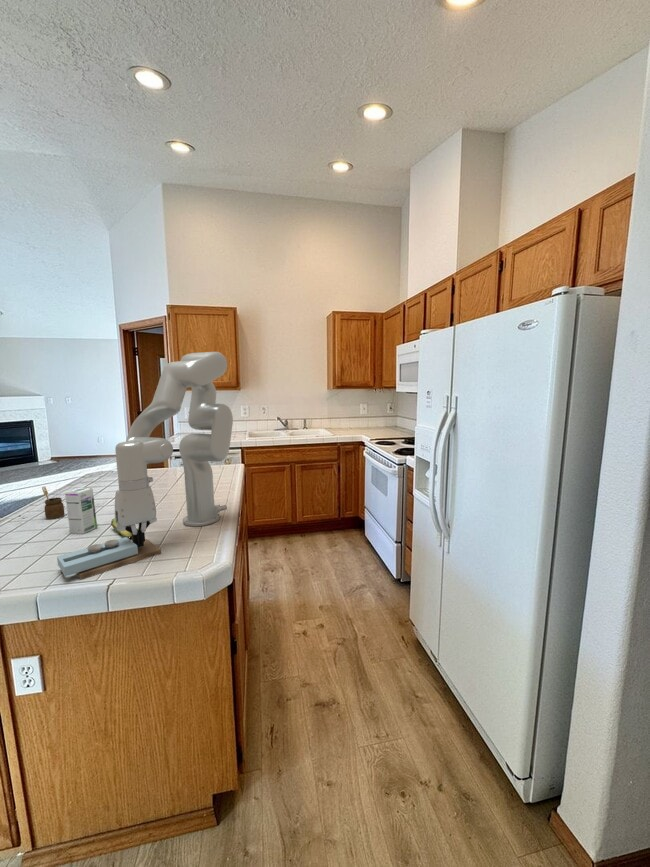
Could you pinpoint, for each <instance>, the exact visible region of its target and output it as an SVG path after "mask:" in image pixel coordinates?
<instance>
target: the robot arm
mask: <svg viewBox="0 0 650 867" xmlns="http://www.w3.org/2000/svg"><path fill="white" fill-rule="evenodd" d="M227 370H228V361H227V358H226V356H225V355H224V354H222V353H221V352H219V351H206V352H202V351H201V352H191V353H187V354H184V355H183V356H182V357H181V359H180V360H178V361H172V362H169V363H166V364H165V366H164V367H163V368H162V372H161V374H160V377H159V380H158V384H157V387H156V390H155V392H154V394H153V398H152V401H151V403H150V404H149V405H148V406H147V407H146V408H145V409H144V410H143V411H142V412H141V413H140V414H139V415H138V416H136V418H135V419H134V421H133V422H132V424H131V425H130V429H129V430H128V434H127V437H126V440H125V441H122V442H118V443H117V444H116V446H115V447H114V448H115V452H114V453H115V458H116V460H115V462H116V471H117V482H118V490H115V496H114V518H115V521H116V523H117V528H116V529H117V530H118V531H128V532H130V533H132V536H131V539H132V540H131V541H132V542H133V543H135V544H136V545H137V547H140V546H144V542H145V539H146V536H145V533H146V532H147V529H148V527H149V526H150V525H151V524H153V523H156V522H157V521H158V518H157V506H156V500H155V495H154V492H153V490H152V486H151V485H150V483H152V482H154V478H153V477H152V476H151V477H149V476H148V475H149V474H148V464H159V463H164V462H166V461H168V460H169V459H170V458H171V456H172V455H173V453H174V447H173V444H172V443H171V442H170V440H169V439H166V438H163V437H151V434H152V432H153V431H154V429H155V428H156V427H157V426H159V425H160V424H161V423H162V422H164V421H166V420H168V419H170V418H173V417H174V416H176V415H177V414H178V413H180V411H181V408H182V405H183V402H184V399H185V396H186V392H187V389H188V388H191V396H190V404H189V411H188V425H189V427H190V428H191V429H193V430H197V431H210V433H189V434H187V435H184V436H183V437H182V438H181V439H180V441H179V447H178V449H179V454H180V457H181V462H182V465H183V474H184V486H185V488H184V490H185V502H186V516H185V517H184V518H182V523H183V525H185V526H189V527H200V526H201V527H202V526H207V525H211V524H214V523H216V522H217V521H219V519H220V517H221V516H220V512H222V511H226V510H228V505H227V504H222V505H221V504H217V505H215V493H214V492H215V491H214V490H215V489H214V474H213V469H212V466H211V463H212V462H215V463H217V462H222V461H224V460H225V459H226V458H227V457H228V454H229V451H230V446H231V439H232V433H233V432H232V431H233V425H234V424H233V423H234V416H233V412H232V410H231V408H230V407H229V406H228V405H226V404H225V403H216V402H217V401H216V400H217V389H216V386H215V385H214V383H213V382H214V381H216V380H217V379H219V378H220V377H222V376H223V375H224V374H225V373H226V371H227ZM210 462H211V463H210ZM136 525H138V527H137V526H136ZM136 528H137V529H138V531H137V529H136ZM118 531H117V532H118Z"/></svg>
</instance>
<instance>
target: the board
mask: <svg viewBox="0 0 650 867" xmlns="http://www.w3.org/2000/svg"><path fill="white" fill-rule="evenodd" d="M103 543H104V544H105V547H109V549H112V548H115V546H116V545H118V544H119V541H118V540H117V539H109V540H107V541H105V542H103ZM103 543H96V544H92V545H90V546H88V547H87V548H88V552H92V554H95V553H99V550H101V549H103V546H102V544H103ZM137 549H138V554H135V555H132V556H129V557H126V558H123V559H119V560H116V561H113V562H110V563H107V564H104V565H100V566H97V567H94V568H91V569H88V570H85V571H81V572H78V573H75V574H76V575H77V577H78V578H79V579H80V580H84V579H86V578H90V577H93V576H96V575H99V574H103V573H105V572H108V571H111V570H114V569H117V568H120V567H123V566H126V565H130V564H133V563H136V562H138V561H142V560H145V559H148V558H150V557H154V556H156V555H160V554H162V549H161V548H160V547H158V546H157V545H155V543H153V542H152V541H150V540H149V539H146V538H145V542H144V546H140V547H137ZM95 574H96V575H95ZM92 575H93V576H92Z"/></svg>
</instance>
